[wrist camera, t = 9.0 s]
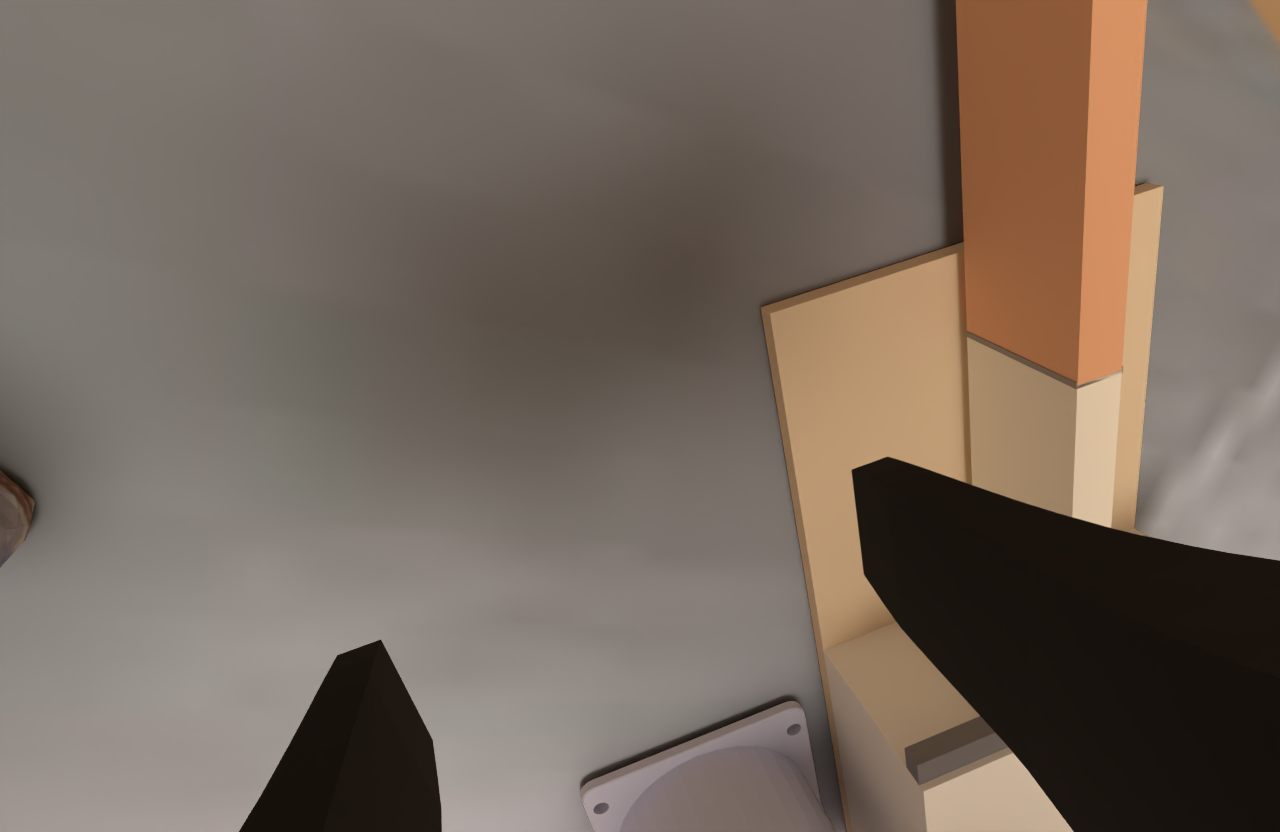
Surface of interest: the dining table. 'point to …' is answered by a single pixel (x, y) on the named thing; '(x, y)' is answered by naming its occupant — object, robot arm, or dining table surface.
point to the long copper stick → (1048, 240)
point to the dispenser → (829, 537)
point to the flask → (13, 516)
